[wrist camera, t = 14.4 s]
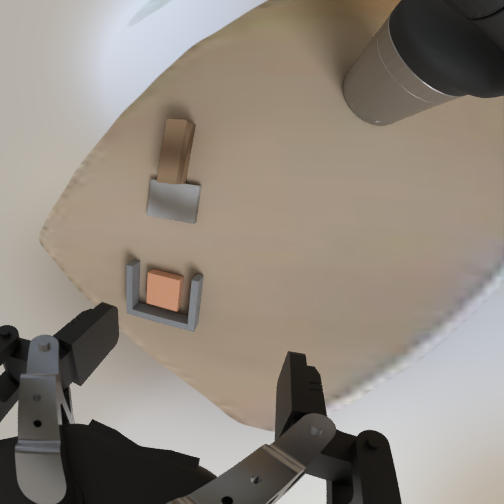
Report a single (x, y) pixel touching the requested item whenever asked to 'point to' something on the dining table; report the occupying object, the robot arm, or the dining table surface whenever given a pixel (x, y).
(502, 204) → the dining table surface
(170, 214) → the brown and grey scraper
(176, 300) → the tile
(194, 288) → the bay
